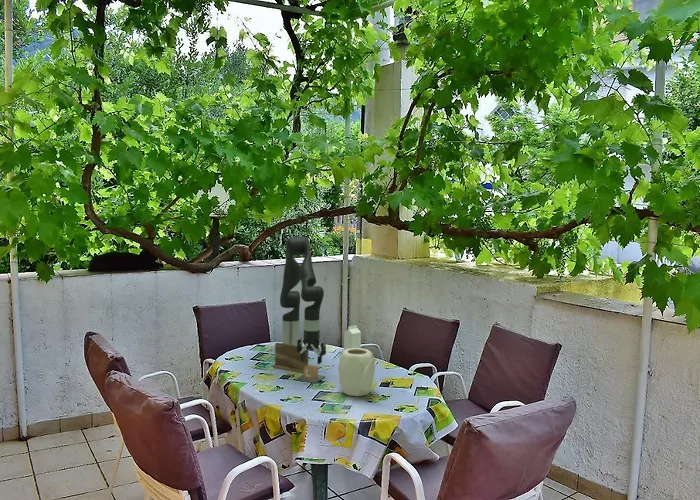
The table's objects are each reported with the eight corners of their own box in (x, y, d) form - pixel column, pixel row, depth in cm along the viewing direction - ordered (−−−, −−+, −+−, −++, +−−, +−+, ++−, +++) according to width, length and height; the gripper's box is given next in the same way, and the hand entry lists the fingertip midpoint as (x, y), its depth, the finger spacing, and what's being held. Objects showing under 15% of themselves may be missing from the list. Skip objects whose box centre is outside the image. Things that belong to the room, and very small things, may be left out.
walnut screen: (279, 364, 300) (279, 341, 299) (310, 370, 293) (310, 346, 291) (272, 367, 295) (272, 344, 294) (304, 373, 287) (304, 348, 286)
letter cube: (308, 374, 282) (309, 364, 282) (318, 376, 280) (318, 366, 279) (303, 377, 277) (303, 367, 277) (312, 379, 275) (312, 369, 275)
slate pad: (306, 374, 285) (306, 372, 285) (325, 377, 281) (325, 375, 281) (296, 380, 276) (296, 378, 276) (314, 383, 272) (314, 381, 272)
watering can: (358, 406, 244) (359, 361, 243) (327, 387, 267) (328, 346, 265) (389, 400, 252) (391, 356, 251) (356, 382, 275) (357, 342, 273)
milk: (360, 369, 296) (361, 325, 294) (351, 371, 292) (352, 327, 290) (351, 366, 300) (353, 323, 298) (342, 368, 296) (344, 325, 294)
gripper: (329, 328, 277) (328, 362, 279) (302, 325, 283) (301, 358, 285) (321, 332, 270) (320, 366, 272) (294, 328, 276) (293, 362, 278)
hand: (311, 362), depth 278 cm, fingers open, 8 cm apart
